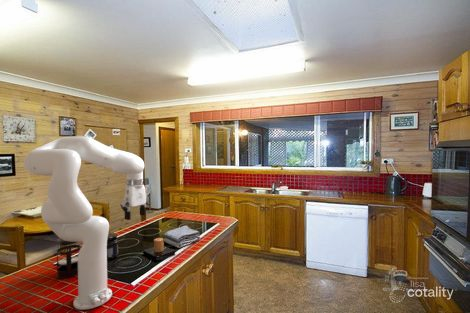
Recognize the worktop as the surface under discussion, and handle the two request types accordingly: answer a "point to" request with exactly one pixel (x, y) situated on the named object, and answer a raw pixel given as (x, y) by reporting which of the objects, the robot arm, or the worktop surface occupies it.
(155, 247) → the oak knob
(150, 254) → the panel
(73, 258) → the french press
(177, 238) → the towel
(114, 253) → the supplement container
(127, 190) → the robot arm
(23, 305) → the worktop surface
